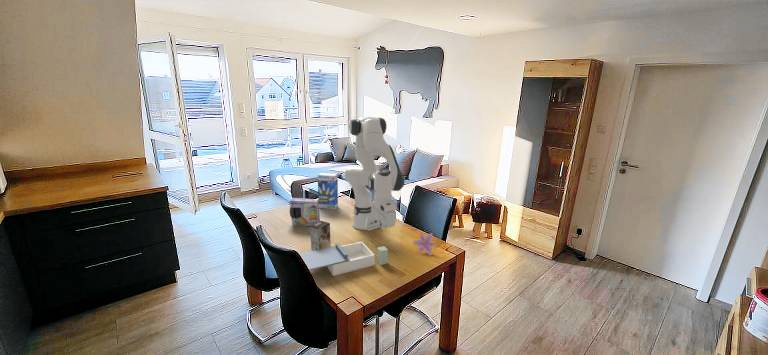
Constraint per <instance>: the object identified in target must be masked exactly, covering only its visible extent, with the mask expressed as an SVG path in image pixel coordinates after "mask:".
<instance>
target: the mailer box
mask: <svg viewBox="0 0 768 355" xmlns="http://www.w3.org/2000/svg"><path fill="white" fill-rule="evenodd" d="M340 246H341V247H342V248H343V249H344V251H345V252H346V253H347V254H348V258H349V259H350V261H346V262H342V263H338V264H334V265H330V266H326V268H327V269H328V271H329V272H330V275H331V276H332V277H335V276H340V275H343V274H347V273H351V272H355V271H358V270H359V271H360V270H363V269H366V268H370V267H374V266H375V265H376V264H375V254H374V253H373V251H371V249H370V248H368V246H367V245H366V244H365V243H364V242H363V241H358V242H354V243H349V244H344V245H340Z"/></svg>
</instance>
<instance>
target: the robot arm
mask: <svg viewBox="0 0 768 355" xmlns="http://www.w3.org/2000/svg"><path fill="white" fill-rule="evenodd" d="M348 130H349V133H350V134H351V135H352V136H354V137H355V145H354V147H355V148H354V149H355V154H354V157H355V159H356V161H358V162H359V164H361V166H357V165H354V166H348V167H347V168H346V170H345V171H344V179H345V180H346V182H347V183H349V184H350V186H351V188H352V190H353V194H354V205H353V206H354V207H353V209H354V210H353V212H354V216H353V217H354V218H353V222H352V227H353V228H355V229H357V230H362V231H363V230H364V231H367V232H368V231H373V230H375V229H379V228H380V229H381V230H385V229H386V227H387V228H393V227H395V226H396V219H397V213H396V211H397V209H398V208H397V205H396V204H395V203H394V201H393V195H392V192H394V191H395V192H399V191H401V190H402V189H403V187H404V186H405V177H404V175H403V173H402V171H401V169H400V165H399V164H398V163H399V162H398V160H397V158H396V155H395V152H394V150H393V148H392V146H391V145H390V144H389V143H388V142H387V141H386V140H385V138H384V134H386V132H387V122H386V120H385V119H384V118H382V117H374V116H362V117H360V116H359V117H352V118H350V121H349V123H348ZM374 155H376V156H378V157H379V156H380V157H381V158H384V159H385V161H387V165H388V168H389V169H390V170H389V169H387V168H378V167H377V164H376V163H375V159H374ZM367 187H368V188H367ZM369 189H370V190H371V191H370V190H369ZM372 192H374V194H373V193H372Z"/></svg>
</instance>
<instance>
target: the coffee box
mask: <svg viewBox="0 0 768 355" xmlns="http://www.w3.org/2000/svg"><path fill="white" fill-rule="evenodd" d="M309 231H310V232H309V233H310V247H311V248H310V251H314V250H318V249H323V248H328V247H332V245H331V224H330V222H327V221H324V220H320V222H317V223H315V224H313V225H311V226H309Z"/></svg>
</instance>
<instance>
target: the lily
mask: <svg viewBox="0 0 768 355" xmlns="http://www.w3.org/2000/svg"><path fill="white" fill-rule="evenodd" d="M433 234H434V233H432V232H431V233H429V234H427V235H426V236H424V235H423V234H422V233H419V239H416V240H414V241H412V244H413V245H415V246H417V247H419V248H418V254H421V253H422V252H425V253H426V254H427V255H429V256H432V247H433V248H434V247H436V246H437V243H435V242H433V241H432V240H433Z"/></svg>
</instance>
